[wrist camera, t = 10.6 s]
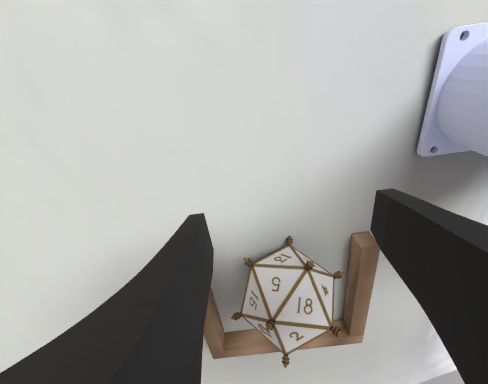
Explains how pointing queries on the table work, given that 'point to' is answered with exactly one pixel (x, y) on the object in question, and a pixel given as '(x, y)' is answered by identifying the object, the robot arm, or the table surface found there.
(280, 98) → the table surface
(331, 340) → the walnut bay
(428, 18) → the table surface
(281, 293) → the game die
